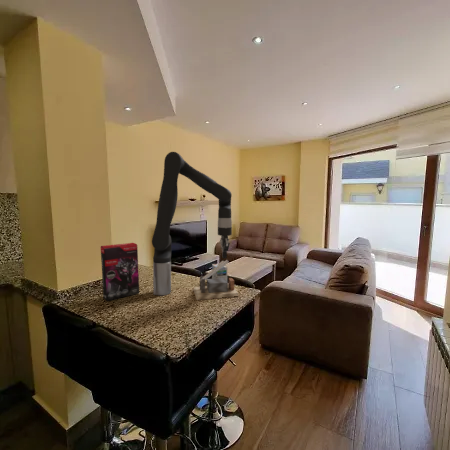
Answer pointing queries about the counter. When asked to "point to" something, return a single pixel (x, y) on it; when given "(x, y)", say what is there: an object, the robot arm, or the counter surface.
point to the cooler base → (213, 295)
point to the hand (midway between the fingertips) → (224, 258)
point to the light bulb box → (219, 272)
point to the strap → (215, 269)
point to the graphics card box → (119, 270)
